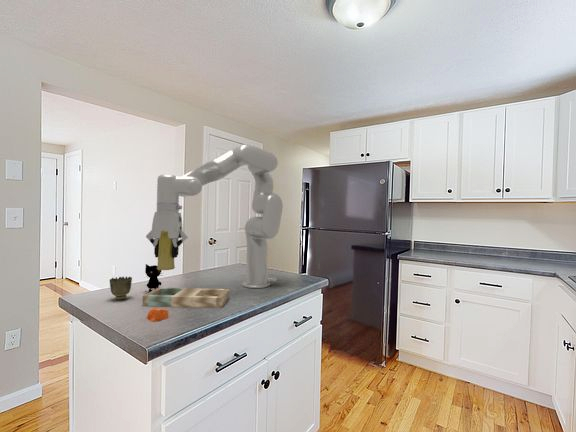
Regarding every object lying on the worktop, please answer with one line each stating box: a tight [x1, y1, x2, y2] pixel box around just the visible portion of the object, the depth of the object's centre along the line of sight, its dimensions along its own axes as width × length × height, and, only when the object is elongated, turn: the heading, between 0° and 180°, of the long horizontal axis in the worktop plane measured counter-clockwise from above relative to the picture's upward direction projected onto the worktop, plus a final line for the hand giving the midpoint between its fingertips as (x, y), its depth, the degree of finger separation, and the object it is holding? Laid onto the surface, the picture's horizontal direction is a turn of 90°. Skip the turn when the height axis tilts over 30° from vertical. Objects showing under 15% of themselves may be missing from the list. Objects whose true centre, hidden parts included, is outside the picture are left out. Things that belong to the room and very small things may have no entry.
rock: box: [146, 307, 169, 323], centre depth 92 cm, size 12×12×4 cm
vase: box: [156, 231, 176, 271], centre depth 108 cm, size 6×6×14 cm
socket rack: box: [142, 286, 230, 309], centre depth 109 cm, size 28×12×4 cm, turn 89°
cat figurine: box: [144, 264, 165, 293], centre depth 121 cm, size 7×7×12 cm
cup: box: [109, 276, 133, 301], centre depth 110 cm, size 8×7×8 cm
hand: (166, 256), depth 109 cm, fingers closed on vase, 5 cm apart
